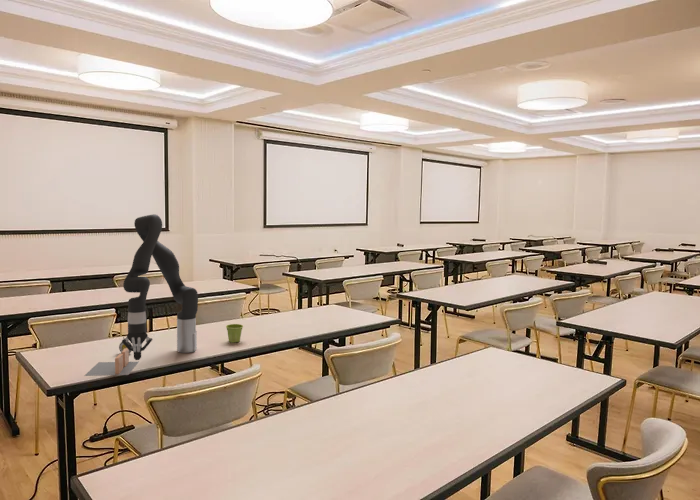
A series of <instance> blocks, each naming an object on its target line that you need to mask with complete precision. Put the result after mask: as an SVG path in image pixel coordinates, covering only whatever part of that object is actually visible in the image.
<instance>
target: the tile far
mask: <svg viewBox="0 0 700 500" xmlns="http://www.w3.org/2000/svg"><path fill="white" fill-rule="evenodd" d="M120 354H123V367H126V365H127V364H128V363H129V362H130V358H129V356H130V355H129V354H130V353H129V349H128V348H125V349H124V350H123V351H122V352H120Z"/></svg>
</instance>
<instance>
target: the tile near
mask: <svg viewBox="0 0 700 500" xmlns="http://www.w3.org/2000/svg"><path fill="white" fill-rule="evenodd" d="M114 362H115V374H119V373H120V372H121V371H122V370H123V354H121V353H119V354H118V355H117V356H116V357H115V358H114Z"/></svg>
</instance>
